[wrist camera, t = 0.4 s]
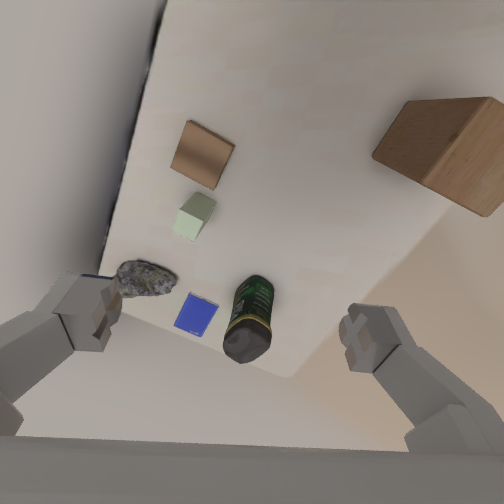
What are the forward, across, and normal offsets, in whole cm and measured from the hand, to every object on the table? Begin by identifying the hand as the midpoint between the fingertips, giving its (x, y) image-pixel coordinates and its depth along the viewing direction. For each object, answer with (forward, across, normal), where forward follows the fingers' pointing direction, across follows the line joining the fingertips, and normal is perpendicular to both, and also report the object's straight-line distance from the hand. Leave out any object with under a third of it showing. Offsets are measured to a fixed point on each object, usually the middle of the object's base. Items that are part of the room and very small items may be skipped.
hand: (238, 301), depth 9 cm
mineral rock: (+43, +18, +42) cm, 62 cm away
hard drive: (+40, +5, +52) cm, 65 cm away
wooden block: (+42, -30, +2) cm, 52 cm away
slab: (+46, +6, +12) cm, 48 cm away
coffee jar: (+39, -8, +40) cm, 57 cm away
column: (+44, +6, +22) cm, 49 cm away
